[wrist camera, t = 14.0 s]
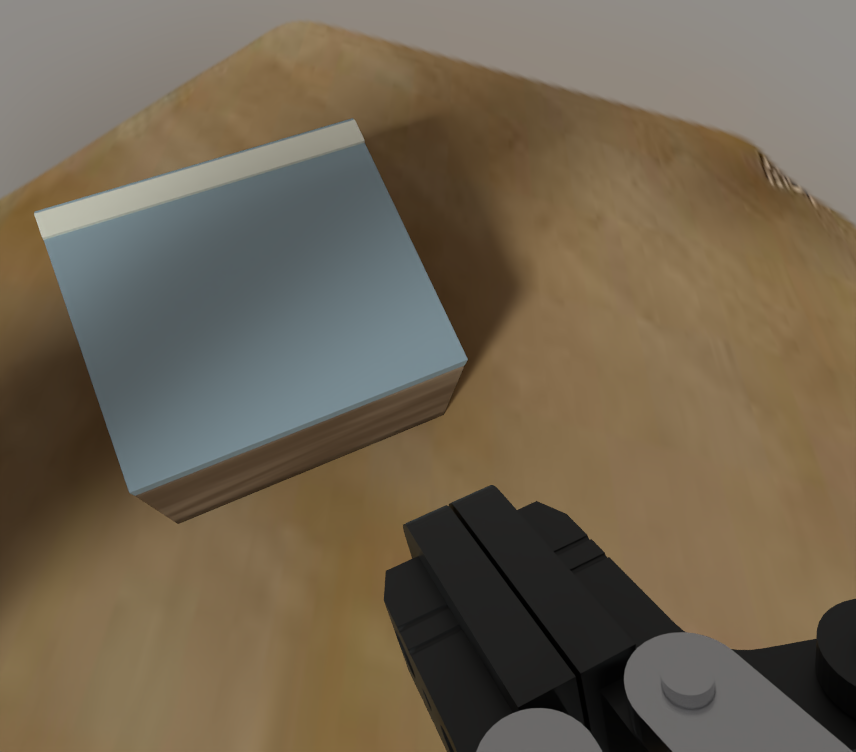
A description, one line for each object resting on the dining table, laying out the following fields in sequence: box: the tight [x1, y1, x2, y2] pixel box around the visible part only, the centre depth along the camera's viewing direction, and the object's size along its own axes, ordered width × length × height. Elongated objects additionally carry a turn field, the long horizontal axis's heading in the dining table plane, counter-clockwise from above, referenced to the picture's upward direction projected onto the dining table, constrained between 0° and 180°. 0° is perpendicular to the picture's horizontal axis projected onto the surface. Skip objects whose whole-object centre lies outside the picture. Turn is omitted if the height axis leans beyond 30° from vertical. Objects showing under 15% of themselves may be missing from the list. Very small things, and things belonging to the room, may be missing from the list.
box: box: [136, 366, 464, 524], centre depth 43 cm, size 16×18×9 cm
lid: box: [34, 118, 468, 496], centre depth 38 cm, size 16×18×1 cm
